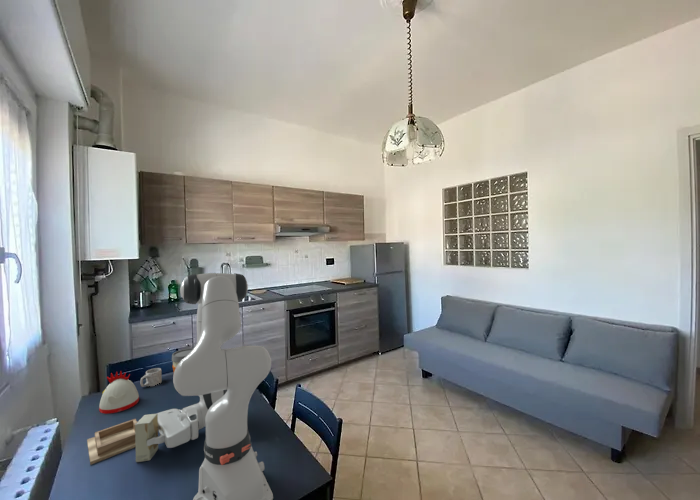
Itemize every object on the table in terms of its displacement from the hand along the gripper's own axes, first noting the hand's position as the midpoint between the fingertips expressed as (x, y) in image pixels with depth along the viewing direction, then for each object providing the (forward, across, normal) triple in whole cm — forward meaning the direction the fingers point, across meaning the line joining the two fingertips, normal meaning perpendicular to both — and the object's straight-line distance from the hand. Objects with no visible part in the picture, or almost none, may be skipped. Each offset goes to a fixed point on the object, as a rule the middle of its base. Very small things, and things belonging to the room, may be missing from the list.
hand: (143, 436), depth 99 cm
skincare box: (-1, 0, +7) cm, 7 cm away
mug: (-13, -61, +7) cm, 63 cm away
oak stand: (+5, -16, +6) cm, 18 cm away
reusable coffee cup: (-27, -52, +7) cm, 59 cm away
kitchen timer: (+1, -48, +7) cm, 48 cm away
